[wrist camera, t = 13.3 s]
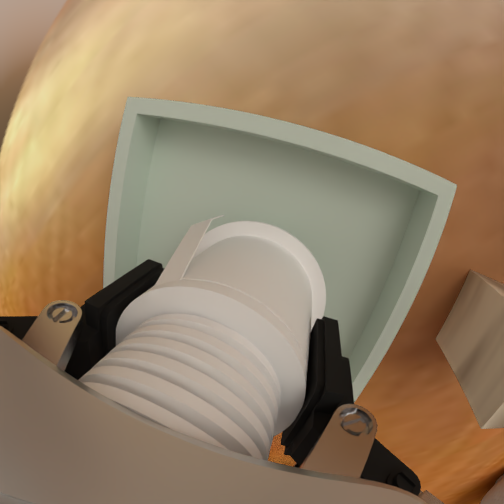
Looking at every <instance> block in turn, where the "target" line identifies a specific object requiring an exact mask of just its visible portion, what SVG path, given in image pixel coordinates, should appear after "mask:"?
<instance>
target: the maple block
mask: <svg viewBox="0 0 504 504" xmlns="http://www.w3.org/2000/svg"><path fill="white" fill-rule="evenodd" d="M436 341H437V343H438V345H439V346H440V348H441V350H442V352H443V353H444V355H445V357H446V359H447V361H448V362H449V364H450V366H451V368H452V370H453V372H454V374H455V375H456V377H457V379H458V381H459V383H460V385H461V387H462V389H463V391H464V393H465V395H466V397H467V399H468V401H469V403H470V406H471V408H472V410H473V412H474V414H475V416H476V419H477V421H478V423H479V425H480V428H481V429H488V428H504V284H502V283H500V282H498V281H496V280H493V279H491V278H489V277H487V276H484V275H482V274H480V273H477V272H475V271H473V270H470V271H469V274H468V276H467V278H466V280H465V283H464V285H463V287H462V289H461V291H460V293H459V295H458V298H457V300H456V302H455V304H454V306H453V308H452V310H451V311H450V313H449V315H448V317H447V319H446V321H445V323H444V325H443V326H442V328H441V330H440V332H439V333H438V335H437V337H436Z"/></svg>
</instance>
